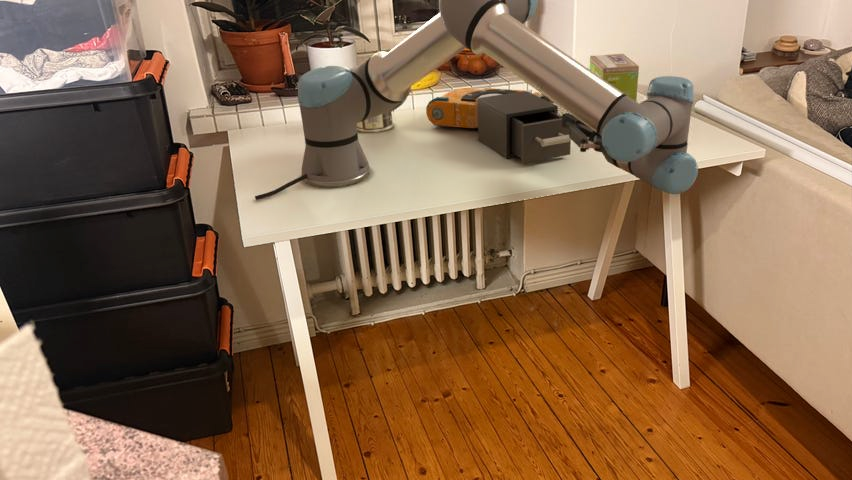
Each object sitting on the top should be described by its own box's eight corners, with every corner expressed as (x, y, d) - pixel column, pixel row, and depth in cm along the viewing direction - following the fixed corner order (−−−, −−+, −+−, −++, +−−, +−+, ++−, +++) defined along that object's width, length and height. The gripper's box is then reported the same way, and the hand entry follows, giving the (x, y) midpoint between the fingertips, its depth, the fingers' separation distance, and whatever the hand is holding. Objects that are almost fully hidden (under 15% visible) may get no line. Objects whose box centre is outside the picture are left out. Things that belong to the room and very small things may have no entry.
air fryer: (556, 149, 172) (557, 105, 167) (506, 158, 167) (506, 114, 162) (525, 131, 184) (525, 90, 179) (478, 139, 179) (477, 98, 174)
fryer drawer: (580, 160, 162) (581, 122, 158) (532, 169, 157) (533, 131, 153) (539, 137, 177) (540, 102, 173) (494, 145, 172) (494, 109, 168)
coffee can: (382, 118, 197) (377, 68, 190) (399, 127, 190) (395, 75, 183) (348, 125, 192) (342, 73, 185) (365, 135, 185) (359, 81, 178)
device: (453, 77, 203) (553, 84, 194) (454, 106, 207) (553, 113, 198) (422, 98, 185) (531, 106, 175) (424, 128, 189) (531, 138, 179)
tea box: (586, 106, 204) (589, 54, 196) (620, 104, 204) (624, 52, 197) (600, 121, 191) (603, 66, 183) (636, 119, 191) (640, 64, 184)
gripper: (600, 175, 133) (538, 141, 151) (656, 164, 137) (589, 131, 156) (602, 137, 129) (539, 106, 148) (659, 126, 134) (591, 98, 153)
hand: (565, 119), depth 152 cm, fingers closed
